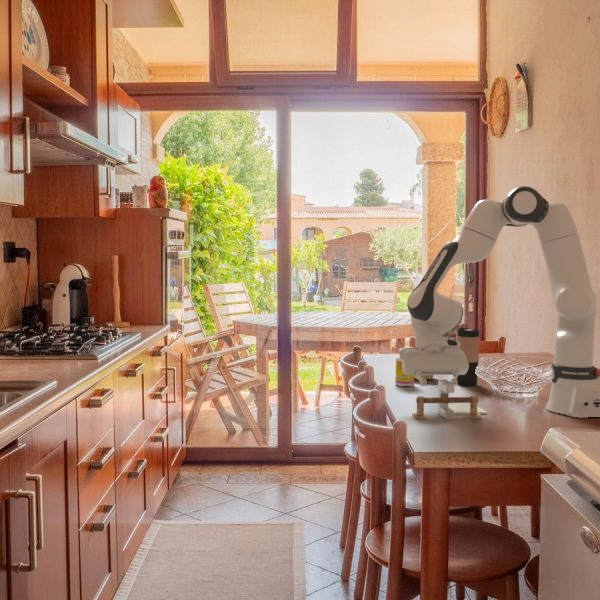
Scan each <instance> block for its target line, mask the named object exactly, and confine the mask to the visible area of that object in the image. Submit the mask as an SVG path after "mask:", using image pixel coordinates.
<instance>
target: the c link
mask: <svg viewBox="0 0 600 600" xmlns="http://www.w3.org/2000/svg"><path fill="white" fill-rule="evenodd" d="M437 380H438V381H437V384H438V385H437V386H438V387H437V397H449V394H454V393H455V387H456V386H455V385H454V384H453V383H451V381H449V380H448V379H437ZM448 405H449V403H437V414H438V415H439V414H440V415H439V416H441V418H443V419H445V420H453V419H454V411H453V410H452V409H451V408H449V407H448Z"/></svg>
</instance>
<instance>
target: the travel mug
mask: <svg viewBox="0 0 600 600" xmlns="http://www.w3.org/2000/svg"><path fill="white" fill-rule="evenodd" d="M457 341H459V342H460V344H461V346H460V349H461V350H463V351H464V353H465V355H466V358H467V360H468V364H469V369H468V371H467V373H466V374H465V375H458V377H457V382H458V384H457V386H460V387H476V386H477V385H478V376H477V375H476V374H475V369H476V367H477V366H478V367H479V358H480V357H479V353H480V350H479V349H480V329H479V328H473V329H469V327H467V328H459V329H458V338H457Z"/></svg>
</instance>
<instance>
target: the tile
mask: <svg viewBox="0 0 600 600" xmlns="http://www.w3.org/2000/svg"><path fill="white" fill-rule="evenodd" d="M448 407H449V408H451V409H452V410H453V411H454V415H457V416H458V415H465V413H470V404H448ZM477 413H479V414H480V415H488V411H486V410H485V409H483V408H482V407H481V406H480V407H479V406H478V405H477Z"/></svg>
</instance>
